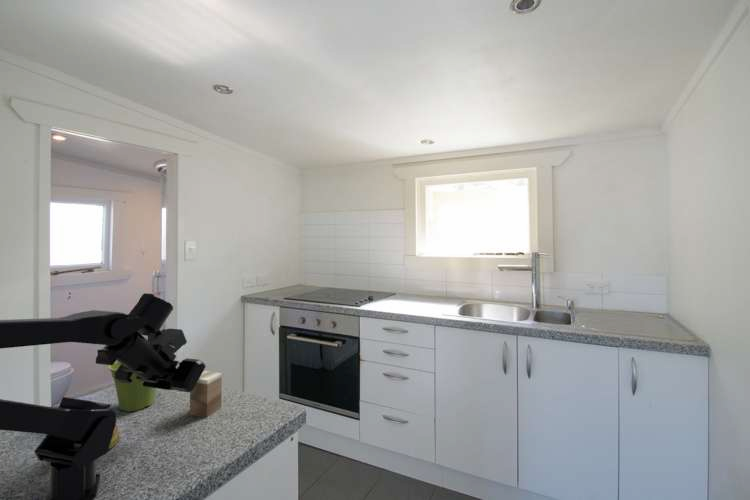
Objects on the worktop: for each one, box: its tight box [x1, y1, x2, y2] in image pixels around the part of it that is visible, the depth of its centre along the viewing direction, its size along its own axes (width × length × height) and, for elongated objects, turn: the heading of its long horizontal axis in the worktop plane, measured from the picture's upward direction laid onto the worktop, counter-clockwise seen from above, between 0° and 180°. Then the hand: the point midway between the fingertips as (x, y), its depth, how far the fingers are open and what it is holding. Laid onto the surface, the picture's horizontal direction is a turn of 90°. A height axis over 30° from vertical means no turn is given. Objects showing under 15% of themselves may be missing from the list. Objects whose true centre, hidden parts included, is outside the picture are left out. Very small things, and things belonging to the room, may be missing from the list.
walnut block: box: [189, 370, 223, 418], centre depth 87 cm, size 5×5×9 cm
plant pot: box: [107, 361, 157, 412], centre depth 89 cm, size 12×12×11 cm
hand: (181, 387), depth 79 cm, fingers closed
